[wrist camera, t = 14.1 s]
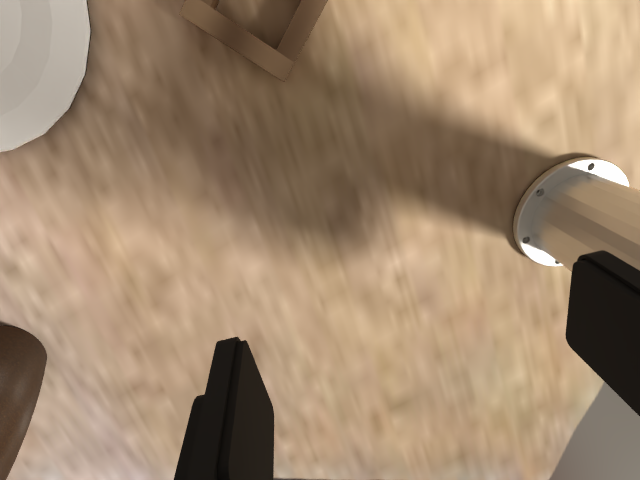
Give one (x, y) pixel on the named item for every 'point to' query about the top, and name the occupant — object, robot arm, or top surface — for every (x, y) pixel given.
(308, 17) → the socket block
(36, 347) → the plant pot
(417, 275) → the top surface
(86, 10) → the plate
